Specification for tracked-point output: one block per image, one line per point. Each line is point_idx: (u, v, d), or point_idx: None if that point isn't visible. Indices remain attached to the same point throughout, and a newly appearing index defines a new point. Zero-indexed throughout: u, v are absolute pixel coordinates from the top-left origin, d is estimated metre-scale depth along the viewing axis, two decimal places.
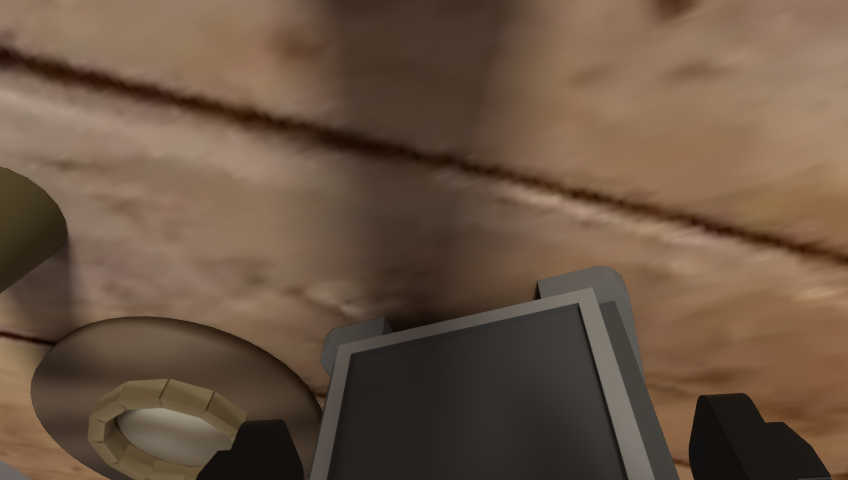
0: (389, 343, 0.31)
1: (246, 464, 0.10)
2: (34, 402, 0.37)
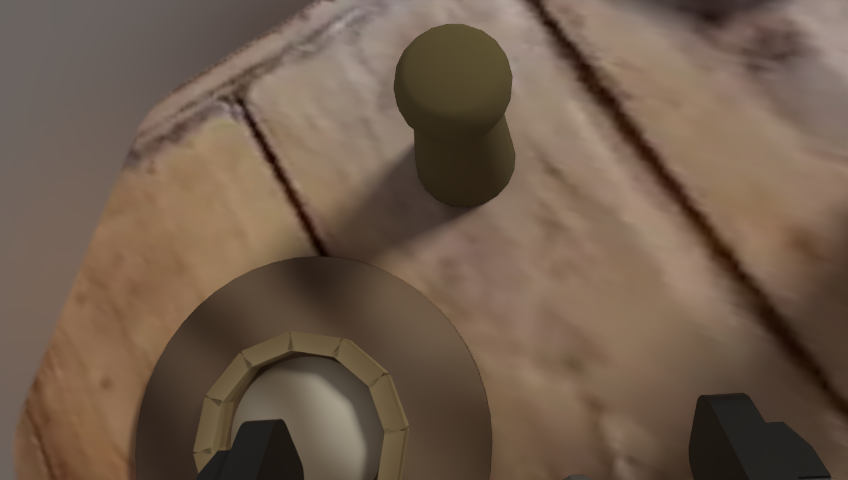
0: None
1: (246, 464, 0.10)
2: (236, 281, 0.32)
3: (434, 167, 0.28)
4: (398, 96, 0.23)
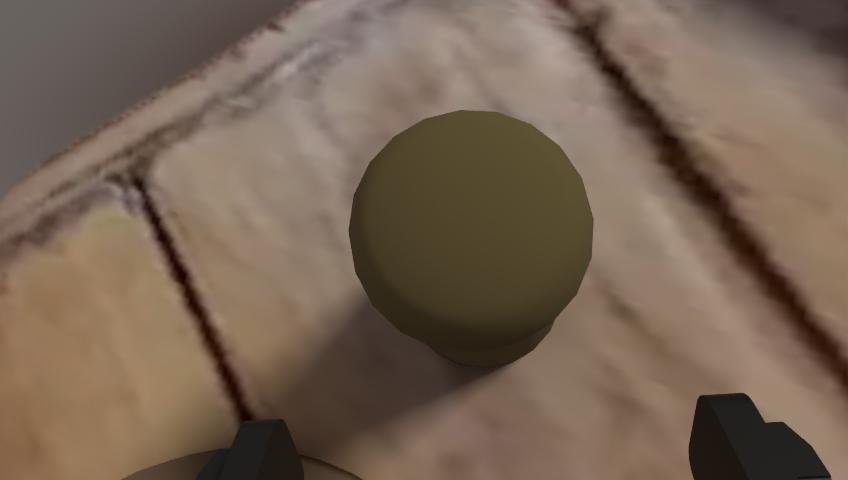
0: None
1: (246, 464, 0.10)
2: None
3: None
4: (356, 264, 0.11)
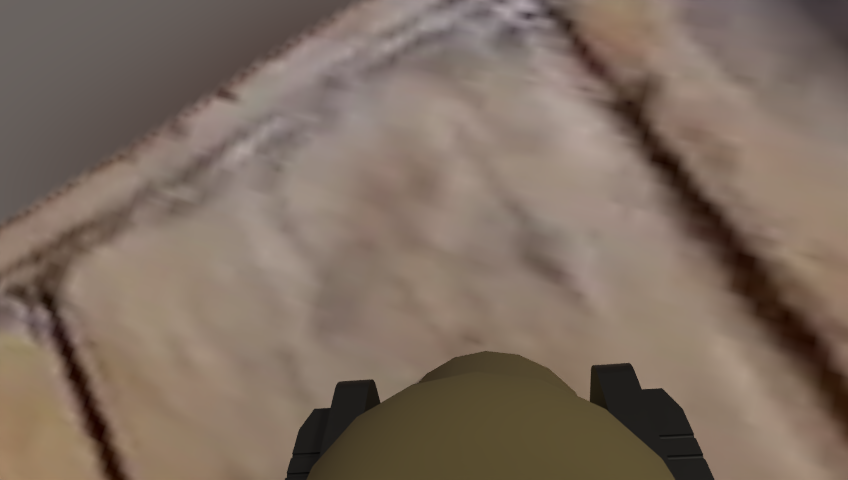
0: None
1: (349, 418, 0.10)
2: None
3: None
4: None
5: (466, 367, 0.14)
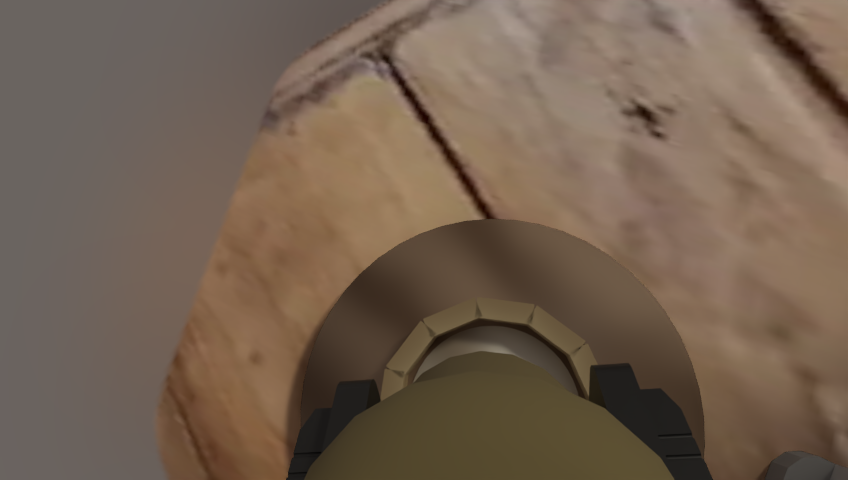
0: None
1: (350, 418, 0.10)
2: (402, 246, 0.30)
3: None
4: None
5: (462, 367, 0.13)
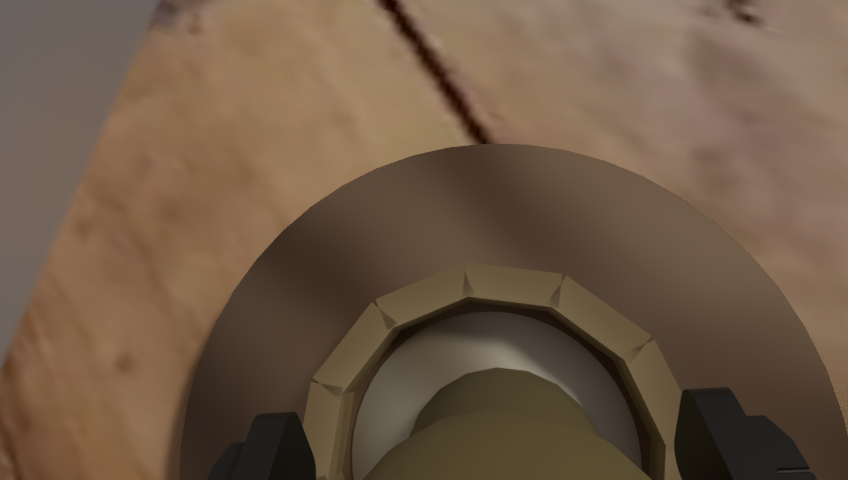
0: None
1: (261, 456, 0.10)
2: (349, 187, 0.19)
3: None
4: None
5: (479, 386, 0.14)
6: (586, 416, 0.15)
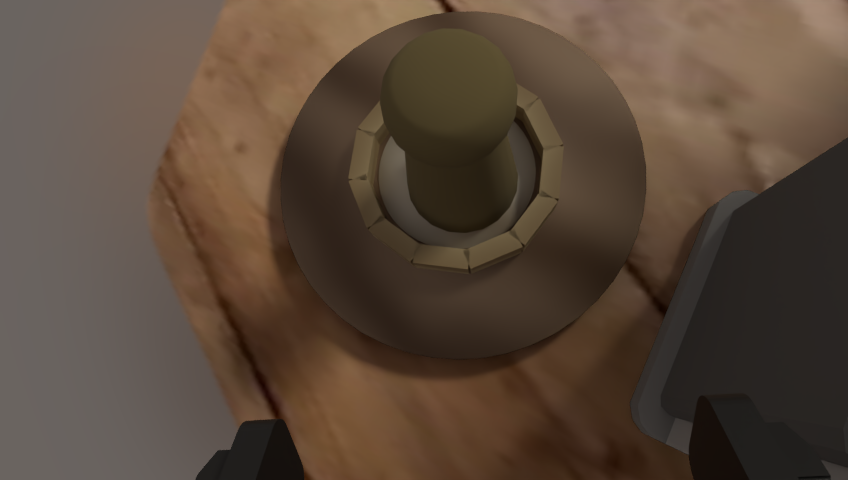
0: None
1: (246, 464, 0.10)
2: (375, 38, 0.32)
3: (428, 191, 0.25)
4: (385, 112, 0.20)
5: None
6: None
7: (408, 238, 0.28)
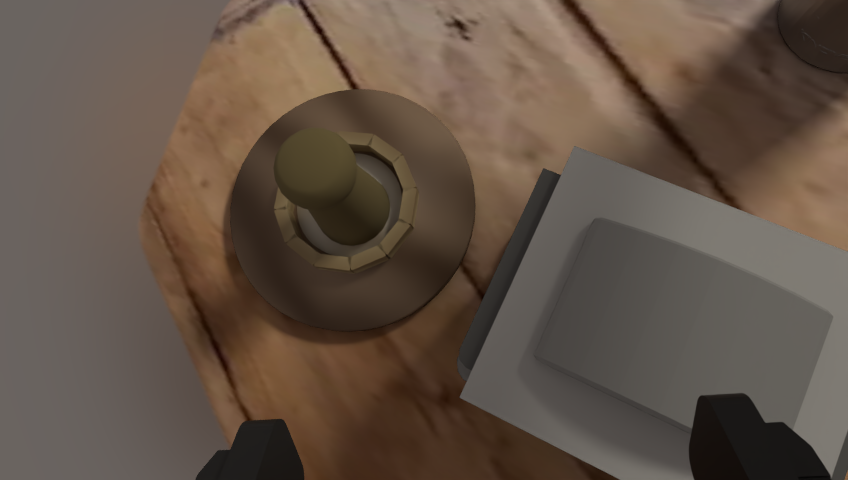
0: None
1: (246, 464, 0.10)
2: (298, 107, 0.46)
3: (317, 220, 0.39)
4: (275, 178, 0.34)
5: None
6: (380, 184, 0.43)
7: (312, 249, 0.42)
